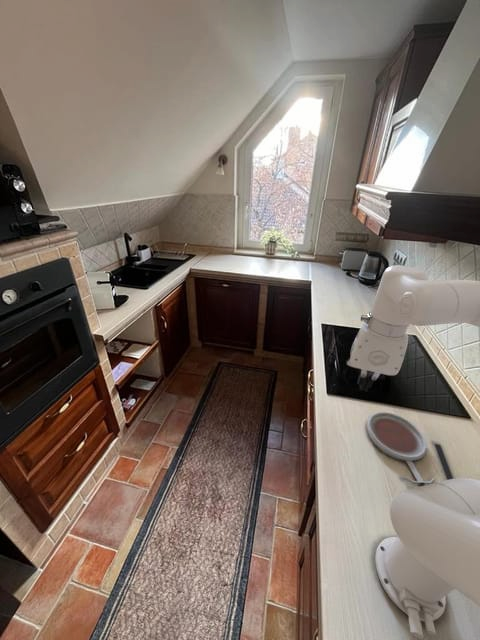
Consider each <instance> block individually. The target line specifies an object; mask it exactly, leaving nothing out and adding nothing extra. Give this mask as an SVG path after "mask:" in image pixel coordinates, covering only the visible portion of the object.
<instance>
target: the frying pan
mask: <svg viewBox="0 0 480 640" xmlns="http://www.w3.org/2000/svg"><path fill="white" fill-rule="evenodd" d="M366 428H367V433H368V435H369V438H370V439H371V441H372V442H373V444H374V446H376V447H377V448H378V449H379V450H380V451H381V452H383V453H384V454H385V455H387V456H389V457H391V458H393V459H395V460H399V461H403V462H406V463H407V465H408V467H409V469H410V470H411V472H412V475H413V476H414V478H415V479H416V480H413V479H410V478H409V477H407V476H404V477H403V479H404V480H405V481H407V482H409V483H411V484H412V485H420V486H425V485H429V484H431V483H434V481H435V480H436V478H435V477H432V478H431V480H430V481H424V479H423V478H422V476H421V474H420V472H419V471H418V469H417V467H416V466H415V463H414V462H413V461H416V460H420V459H421V458H423V457H424V456H425V455H426V453H427V450H428V448H427V441H426V439H425V437H424V435H423V433H422V432H421V430H420V429H418V427H417V425H415V424H413V423H412V422H411V421H409V419H406V418H404V417H403V416H401V415H399V414H396V413H393V412H388V411H381V412H376V413H374V414H372V415H370V416H369V418H367V421H366Z"/></svg>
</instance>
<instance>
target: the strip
mask: <svg viewBox="0 0 480 640" xmlns="http://www.w3.org/2000/svg"><path fill="white" fill-rule="evenodd" d="M434 446H435V449H436V452H437V454H438V455H437V456H438V457H439V460H440V463H441V466H442V469H443V471H444V475H445V477H446V480H449V479H454V478H453V475H452V472H451V471H450V467H449V464H448V461H447V459H446V455H445V454H444V452H443V449H442V446H441V445H440V444H438V443H434Z"/></svg>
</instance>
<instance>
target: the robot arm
mask: <svg viewBox="0 0 480 640" xmlns="http://www.w3.org/2000/svg"><path fill="white" fill-rule="evenodd" d="M428 279H429V277H428V275H427V273H426V272H425V271H424V270H422V269H420V268H417V267H414V266H410V265H409V266H408V265H399V264H396V265H390V266H388V267H387V268H385V270H384V272H382V276H381V279H380V282H379V285H378V288H377V291H376V294H375V297H374V300H373V303H372V306H371V310H370V311H369V312H368V314H362V315H361V316H360V322H364V323H363V324H362V325H361V327H360V329H359V330H358V332H357V334H356V336H355V338H354V341H353V342H352V344H351V349H350V353H349V356H348V358H347V359H346V365H347V366H349V367H351V368H354V369H355V370H356V371H357V372H358V374H359V375H358V377H357V378H358V379H357V381H356V383H357V385H358V386H359V391H364V392H365V393H368V391H369V389H371V388H372V386H373V384H374V381H377V380H378V379H379V378H380V377H383V376H396V375H398V374H399V372H400V371H401V368H402V365H403V362H404V359H405V355H406V353H407V348H408V345H409V338H410V337H409V334H408V333H407V330H408V328H409V325H412V326H417V327H425V326H427V327H429V326H438V325H449V324H463V323H464V324H469V325H472V326H475V327H478V328H480V281H479V280H472V279H446V280H428ZM389 516H390V521H391V525H392V527H393V530H394V532H395V533H396V536H397V537H396V536H392V537H391V536H390V537H386V538H384V539H382V540H381V542H380V543H379V544H378V546H377V548H376V550H375V557H374V563H375V570H376V573H377V576H378V579H379V581H380V583H381V585H382V587H383V589H384V591H385V593H386V594H387V595H388V598H390V600H391V601H392V602H393V603H394V604H395V605H396V607H397V608H398V609H400V610H401V611H402V612H403V613H404V614H406V615H407V616H408V625H409V631H410V635H412V637H415V638H417V639H421V640H423V639H424V638H425V637H424V632H423V627H422V622H424V625H425V630H426V633H427V634H429V635H432V636H436V635H437V631H436V628H435V624H434V621H436V620H438V619H439V618H440V617H441V616H443V613H444V612H445V610H446V605H447V595H450V593H452V592H453V591H454V590H456V591H457V592H458V593H460V594H462V595H463V596H465V597H466V598H467V599H469V600H471V601H472V602H473V603H474V604H476V605H478V606H479V607H480V480H479V479H474V478H469V477H455V478H453V479H449V480H447V479H445V480H440V481H436V482H432V483H431V484H429V485H427V484H425V486H421V485H420V486H417V487H412V488H411V487H410V488H408V489H403V490H401V491H400V492H398V493H397V494H396V495H394V496H393V498H392V500H391V503H390V507H389Z"/></svg>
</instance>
